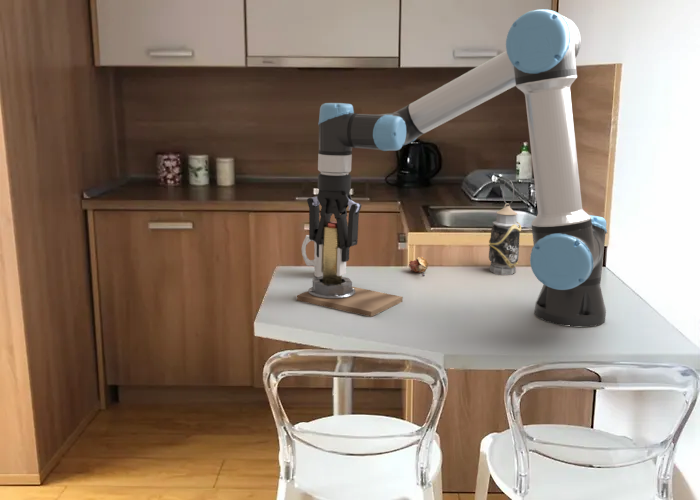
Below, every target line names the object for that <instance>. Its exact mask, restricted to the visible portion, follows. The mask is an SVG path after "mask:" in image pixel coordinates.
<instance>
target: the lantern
mask: <svg viewBox="0 0 700 500" xmlns="http://www.w3.org/2000/svg"><path fill="white" fill-rule="evenodd" d="M507 182H510V183H511V185H512V197H511V201H510V203H507V202H506V200H505V199H506V198H505V194H504V193H505V185H506V184H507ZM502 198H503V202H504V203H505V204H504V207H502V208H501V209H500V210H498V211H496V218H495V220H494V221H492V222H491V223H492V224H493V226H492V227H491V230H490V238H489V240H488V243H489V244H488V246H489V249H488V259H489V261H490V264H489V265H490V266H489V271H490V272H491V273H493V274H496V275H501V276H504V275H507V276H508V274H510V275H514V274H516V272H517V271H516V269H517V268H516V266H517V265H518V264H519V257H520V255H519V253H520V252H519V251H520V233H521V231H522V225H521V224H520V222H518V221H517V215H518V212H516V211H514V210H513V209H512V207H511V204H512V203H513V201H514V198H515V189H514V184H513V182H512V180H511V179H507V180H505V182H504V183H503V187H502ZM513 273H514V274H513Z"/></svg>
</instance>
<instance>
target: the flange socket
mask: <svg viewBox="0 0 700 500" xmlns="http://www.w3.org/2000/svg"><path fill="white" fill-rule="evenodd" d="M311 283H312V285H311V286H310V287H309V288H308V290H307V291H308V292H309V294H310V295H312V296H314V297H318V298H324V299H343V298H348V297H352V296H354V295H355V292H356V291H355V289H354V288H352V287H353V281H352V280H351V279H350V278H349V277H345V276H342V283H341V284H325V283H323V276H320V277H315V278H313V279H312V282H311Z"/></svg>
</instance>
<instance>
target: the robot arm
mask: <svg viewBox="0 0 700 500" xmlns="http://www.w3.org/2000/svg"><path fill="white" fill-rule="evenodd" d="M581 38H582V37H581V33H580V30H579V28H578V26H577V25H576V24H575V22H574V21H573V20H572V19H571V18H570V17H568V16H566V15H563V14H560V13H559V12H557V11H554V10H552V9H547V8H543V9H535V10H534V9H533V10H529V11H527V12H525V13H524V14H522V15H521V16H519V17H518V18H516V20H515V21H513V23H512V25H511V26H510V27H509V30H508V31H507V35H506V38H505V51H503V52H501V53H499V54H498V55H496V56H494V57H492V58H490V59H488V60H487V61H485V62H484V63H481V64H479V65H478V66H476V67H474V68H472V69H470V70H468V71H467V72H465V73H463V74H462V75H460V76H458V77H456V78H454V79H452V80H451V81H449V82H447V83H444V84H443V85H442V86H440V87H437V89H434V90H432V91H430V92H429V93H427V94H426V95H423V96H421V97H420V98H417V100H415V101H412V102H411V103H409V104H408V105H406V106H404V107H402V108H400V109H398V110H397V111H394V112H390V113H389V112H388V113H381V114H376V113H375V114H372V113H371V114H370V113H369V114H368V113H357V112H355V110H354V106H353V104H351V103H345V102H344V103H343V102H325V103H322V104H321V106H320V107H319V115H318V116H319V118H318V155H317V156H318V158H317V159H318V160H317V170H318V172H320V173H318V174H317V189H318V193H317V194H316V196H313V197H307V201H306V202H307V206H308V210H309V211H308V212H309V213H308V219H309V220H308V221H309V222H308V224H309V225H308V228H309V229H308V230H309V231H308V235H309V239H310V240H313V241H312V242H314V241H315V242H316V244H317V253H316V255H317V257H319V272H321V273H322V272H323V244H324V226H327V222H330V221H331V218H332V215H334V219H335V220H336V222H337V227H338V233H339V239H340V246H339V248H337V276H341V275H342V276H344V275H346V274H347V262H349V260H350V248H351V247H353V246H356V245H358V239H359V238H358V237H359V217H360V216H359V215H360V212H361V209H362V203H361V202H355V201H353V200H352V196H351V188H352V175H351V174H350V173H351V171H352V161H353V160H352V159H353V155H352V154H353V149H367V150H376V151H377V150H378V151H383V152H387V151H389V152H390V151H392V152H393V151H400V150H401V149H402V147H403V146H406V145H408V144H411V143H413V142H414V141H416V140H417V139H418V138H419V137H421V136H422V135H424V134H426V133H428V132H431V130H433V129H435V128H437V127H439V126H441V125H444V124H445V123H447V122H449V121H451V120H453V119H455V118H456V117H458V116H461V115H462V114H464V113H466V112H468V111H470V110H472V109H474V108H475V107H477V106H480V105H481V104H483V103H485V102H487V101H489V100H491V99H493V98H495V97H497V96H499V95H500V94H503V93H504V92H506V91H507V90H510V89H512V88H515V87H516V88H517V89H518V90H519V91H521V92H522V93H523V95H524V97H525V98H524V99H525V107H526V115H527V117H526V119H527V125H528V135H529V145H530V152H531V153H530V154H531V162H532V163H531V164H532V171H533V180H534V188H535V189H534V190H535V197H536V206H537V214H536V217H534V219H533V220H532V221H531V223H530V224H531V233H532V243H533V246H532V248H531V252H530V257H529V259H530V260H529V263H530V268H531V270H532V273H533V275H534V277H535V278H536V279H537V280H538V282H540V283H542V284H543V285H542V287H541V290H540V292H539V294H538V295H537V296H538V297H537V298H536V301H535V305H534V316H536V317H537V318H539V319H540V320H543V321H545V322H547V323H552V324H555V325H559V326H565V325H570V326H569V327H574V326H590V327H596V326H600V325H602V324H604V323H605V322H606V315H607V310H606V305H605V301H604V295H603V291H602V287H601V281H602V273H603V272H602V271H603V264H604V252H605V251H604V250H605V241H606V235H607V233H608V230H607V220H606V219H605V218H604V217H602V216H598V215H591V214H588V212H586V211H585V210H584V209H583V201H582V193H581V181H580V174H579V173H580V172H579V165H578V152H577V143H576V134H575V125H574V115H573V104H572V94H571V87H572V84H573V83H574V82H575V81H576V79H578V72H577V63H576V62H577V61H576V58H577V56H578V55H579V52H580V49H581V43H582V42H581ZM320 206H321V208H320ZM347 208H348V210H347ZM347 217H348V219H347ZM595 325H596V326H595Z"/></svg>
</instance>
